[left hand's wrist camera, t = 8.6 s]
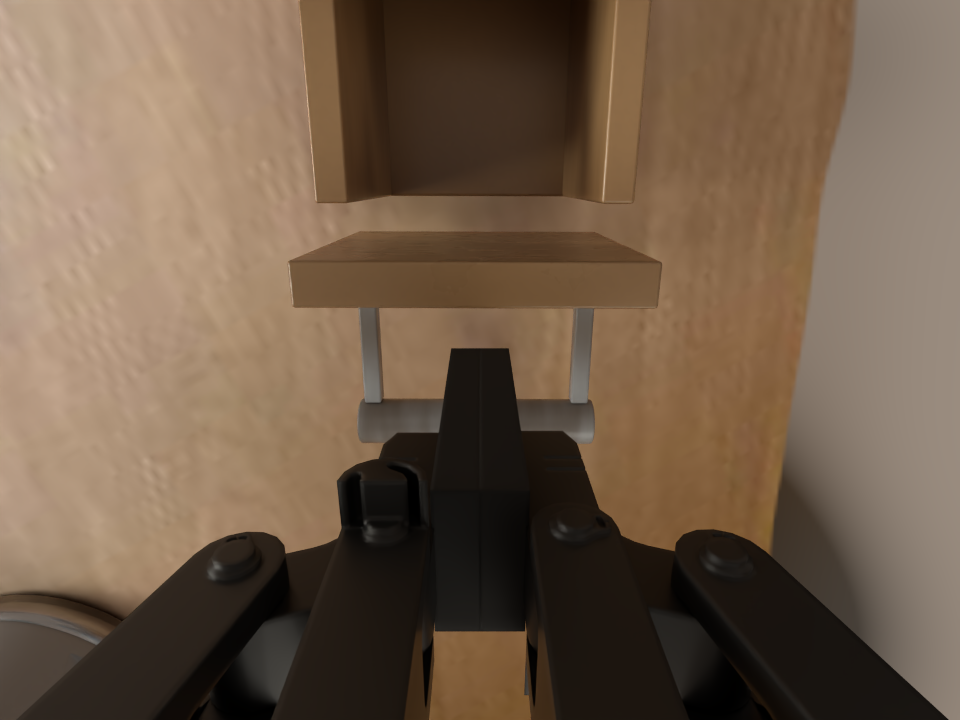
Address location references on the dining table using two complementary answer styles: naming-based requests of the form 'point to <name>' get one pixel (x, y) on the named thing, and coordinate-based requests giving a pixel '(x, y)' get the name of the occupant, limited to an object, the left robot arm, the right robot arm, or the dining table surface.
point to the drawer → (474, 169)
